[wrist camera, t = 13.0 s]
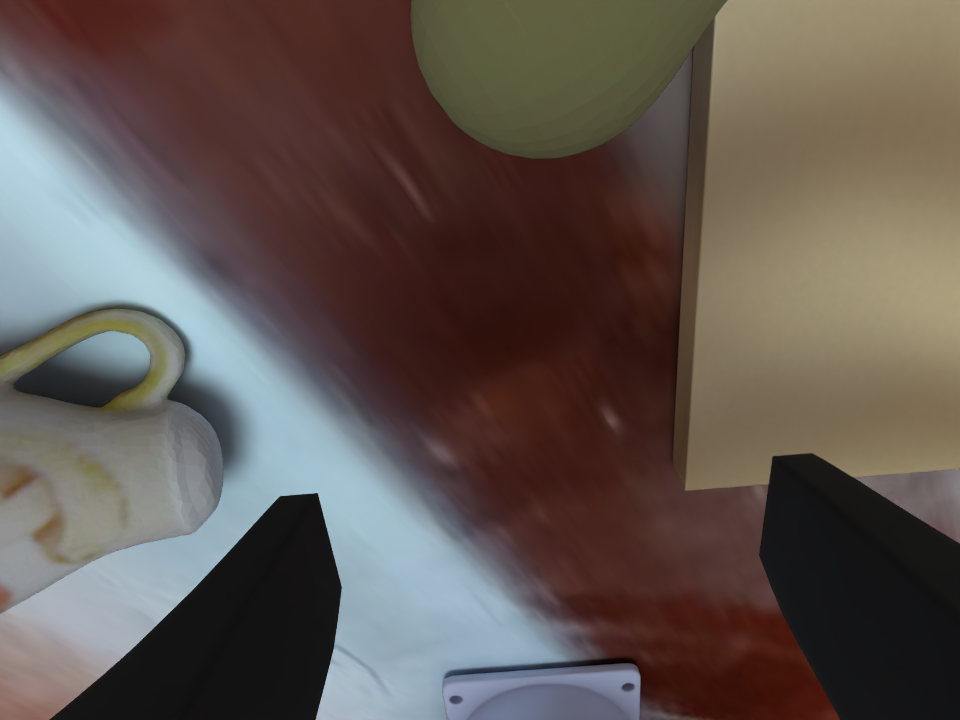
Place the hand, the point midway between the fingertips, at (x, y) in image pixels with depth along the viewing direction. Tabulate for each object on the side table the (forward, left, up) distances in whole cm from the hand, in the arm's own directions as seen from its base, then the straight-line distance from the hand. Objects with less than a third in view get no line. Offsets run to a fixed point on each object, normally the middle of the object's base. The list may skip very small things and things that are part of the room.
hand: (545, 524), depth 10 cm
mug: (-3, +14, -10) cm, 18 cm away
